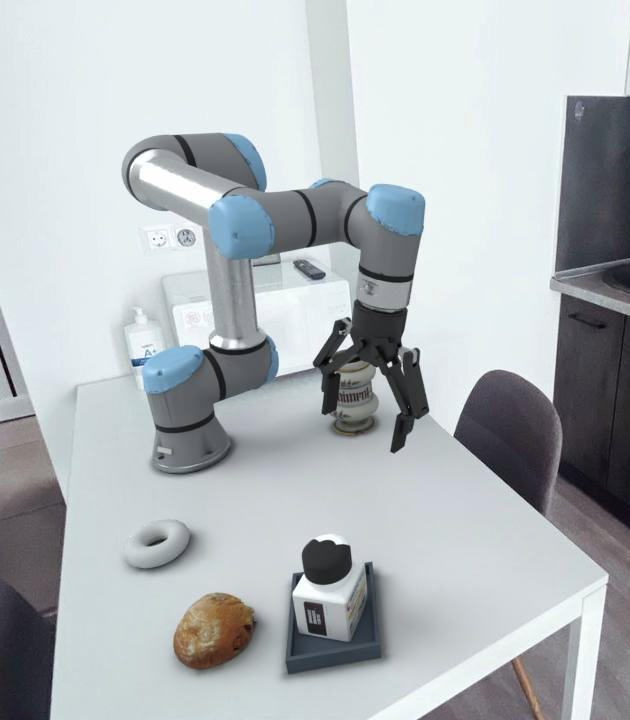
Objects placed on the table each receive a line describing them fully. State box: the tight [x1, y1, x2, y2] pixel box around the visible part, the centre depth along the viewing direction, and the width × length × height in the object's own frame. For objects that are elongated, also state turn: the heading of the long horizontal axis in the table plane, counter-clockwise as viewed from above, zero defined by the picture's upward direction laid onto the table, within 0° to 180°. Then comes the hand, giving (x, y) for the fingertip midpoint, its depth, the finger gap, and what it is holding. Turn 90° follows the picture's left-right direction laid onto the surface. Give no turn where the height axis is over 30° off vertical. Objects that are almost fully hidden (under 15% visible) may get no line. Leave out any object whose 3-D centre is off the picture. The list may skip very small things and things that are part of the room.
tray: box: [284, 561, 382, 675], centre depth 78 cm, size 15×12×2 cm
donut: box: [123, 518, 191, 569], centre depth 91 cm, size 10×4×10 cm
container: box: [292, 533, 368, 642], centre depth 76 cm, size 8×8×13 cm
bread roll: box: [172, 591, 258, 670], centre depth 75 cm, size 10×10×8 cm
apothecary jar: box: [328, 348, 380, 436], centre depth 126 cm, size 12×12×18 cm
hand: (362, 429), depth 84 cm, fingers open, 13 cm apart
